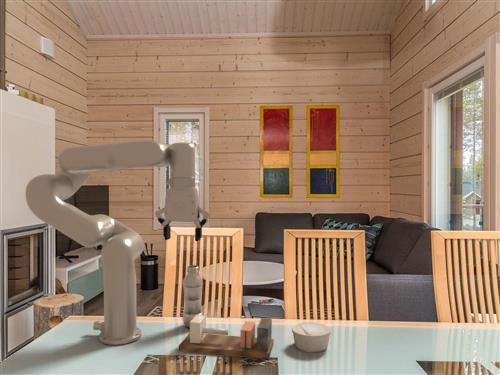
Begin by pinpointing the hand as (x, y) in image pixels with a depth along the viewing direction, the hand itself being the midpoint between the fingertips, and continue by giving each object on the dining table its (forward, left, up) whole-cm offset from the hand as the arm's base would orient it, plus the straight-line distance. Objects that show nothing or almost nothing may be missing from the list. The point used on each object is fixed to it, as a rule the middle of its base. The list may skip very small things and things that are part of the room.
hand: (182, 239), depth 127 cm
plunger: (+10, -4, -29) cm, 30 cm away
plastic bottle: (0, +10, -31) cm, 32 cm away
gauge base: (+15, -4, -30) cm, 34 cm away
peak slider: (+21, -5, -29) cm, 36 cm away
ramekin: (+39, +2, -31) cm, 50 cm away
